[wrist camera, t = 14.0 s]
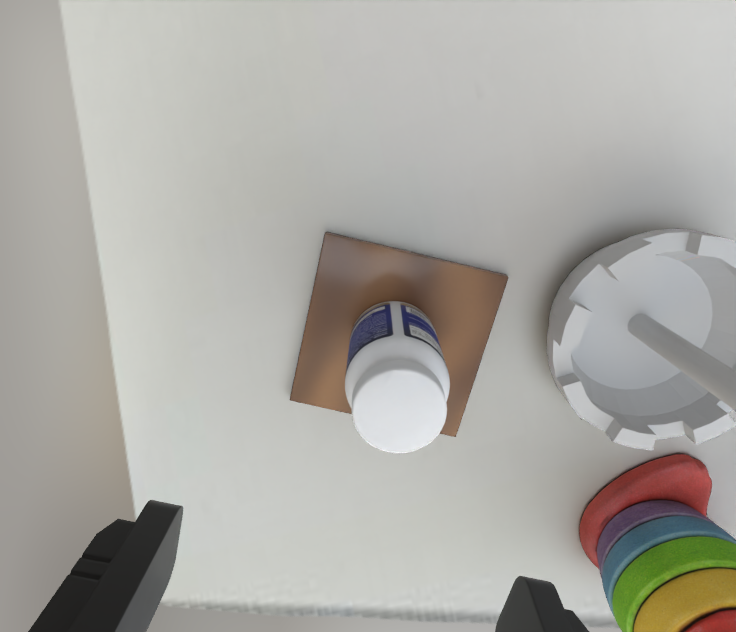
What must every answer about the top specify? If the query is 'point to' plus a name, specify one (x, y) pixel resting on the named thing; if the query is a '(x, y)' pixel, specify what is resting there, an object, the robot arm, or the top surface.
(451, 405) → the coaster
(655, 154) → the top surface
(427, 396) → the pill bottle
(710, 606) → the stacking bear
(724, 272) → the grey countertop holder stand
